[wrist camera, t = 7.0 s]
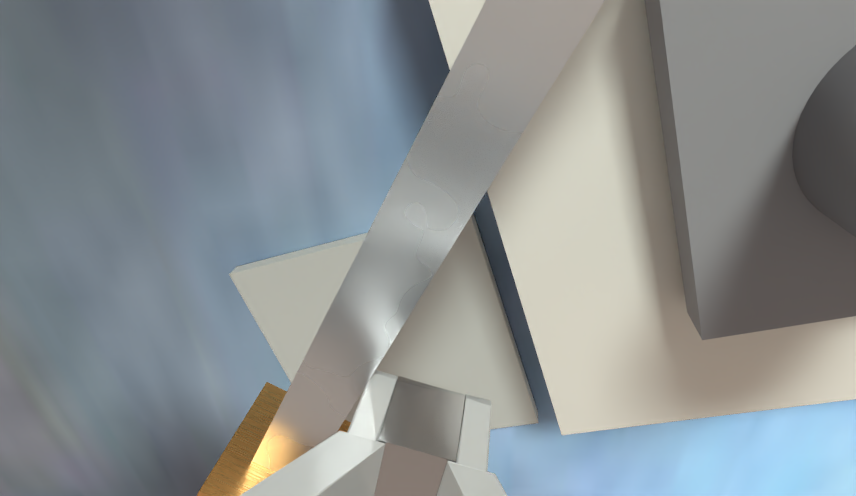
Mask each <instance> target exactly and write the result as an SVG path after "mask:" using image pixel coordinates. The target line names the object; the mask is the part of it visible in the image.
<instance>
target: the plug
mask: <svg viewBox="0 0 856 496" xmlns="http://www.w3.org/2000/svg"><path fill="white" fill-rule="evenodd" d="M644 1H645V8H646V16H647V23H648V30H649V38H650V45H651V52H652V60H653V67H654V74H655V82H656V89H657V96H658V104H659V111H660V118H661V125H662V133H663V140H664V147H665V155H666V162H667V169H668V177H669V184H670V191H671V199H672V206H673V213H674V221H675V228H676V235H677V242H678V250H679V257H680V264H681V272H682V279H683V286H684V294H685V301H686V308H687V313H688V315H689V317H690V319H691V320H692V322H693V324H694V326H695V328H696V330H697V331H698V333H699V335H700V337H701V339H702V340H707V339H714V338H720V337H726V336H733V335H739V334H745V333H752V332H758V331H764V330H771V329H777V328H783V327H790V326H796V325H802V324H809V323H815V322H821V321H828V320H834V319H840V318H846V317H853V316H856V0H644Z"/></svg>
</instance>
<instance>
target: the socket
mask: <svg viewBox="0 0 856 496" xmlns="http://www.w3.org/2000/svg"><path fill="white" fill-rule="evenodd" d="M485 1H486V0H429V3H430V7H431V10H432V13H433V16H434V20H435V23H436V26H437V29H438V33H439V36H440V39H441V42H442V46H443V49H444V52H445V55H446V59H447V62H448V65H449V68H450V70H451V68H452V66H453V64H454V62H455V60H456V58H457V56H458V54H459V52H460V50H461V48H462V46H463V44H464V42H465V40H466V38H467V36H468V34H469V32H470V31H471V29H472V27H473V25H474V23H475V21H476V19H477V17H478V15H479V13H480V11H481V9H482V7H483V5H484V3H485ZM487 192H488V196H489V199H490V202H491V206H492V209H493V212H494V215H495V219H496V222H497V225H498V228H499V232H500V235H501V238H502V241H503V245H504V248H505V251H506V254H507V258H508V261H509V264H510V268H511V271H512V274H513V277H514V281H515V284H516V287H517V290H518V294H519V297H520V300H521V303H522V307H523V310H524V313H525V316H526V320H527V323H528V326H529V330H530V333H531V336H532V339H533V343H534V346H535V349H536V352H537V356H538V359H539V362H540V365H541V369H542V372H543V375H544V378H545V382H546V385H547V388H548V391H549V395H550V398H551V401H552V405H553V408H554V411H555V414H556V418H557V421H558V424H559V427H560V431H561V434H562V435H568V434H576V433H584V432H592V431H600V430H608V429H616V428H625V427H633V426H641V425H649V424H657V423H665V422H673V421H682V420H690V419H698V418H706V417H714V416H722V415H730V414H738V413H747V412H755V411H763V410H771V409H779V408H787V407H795V406H804V405H812V404H820V403H828V402H836V401H844V400H852V399H856V316H853V317H846V318H840V319H834V320H828V321H821V322H815V323H809V324H802V325H796V326H790V327H783V328H777V329H771V330H764V331H758V332H752V333H745V334H739V335H733V336H726V337H720V338H714V339H707V340H702V339H701V337H700V335H699V333H698V331H697V330H696V328H695V326H694V324H693V322H692V320H691V319H690V317H689V315H688V313H687V308H686V301H685V294H684V286H683V279H682V272H681V264H680V257H679V250H678V242H677V235H676V228H675V221H674V213H673V206H672V199H671V191H670V184H669V177H668V169H667V162H666V155H665V147H664V140H663V133H662V125H661V118H660V111H659V104H658V96H657V89H656V82H655V74H654V67H653V60H652V52H651V45H650V38H649V30H648V23H647V16H646V8H645V1H644V0H605V1H604V3H603V4H602V6H601V7H600V9H599V11H598V12H597V14H596V15H595V17H594V19H593V20H592V22H591V24H590V25H589V27H588V28H587V30H586V32H585V33H584V35H583V36H582V38H581V40H580V41H579V43H578V44H577V46H576V48H575V49H574V51H573V53H572V54H571V56H570V57H569V59H568V61H567V62H566V64H565V65H564V67H563V69H562V70H561V72H560V73H559V75H558V77H557V78H556V80H555V82H554V83H553V85H552V86H551V88H550V90H549V91H548V93H547V94H546V96H545V98H544V99H543V101H542V102H541V104H540V106H539V107H538V109H537V111H536V112H535V114H534V115H533V117H532V119H531V120H530V122H529V123H528V125H527V127H526V128H525V130H524V132H523V133H522V135H521V136H520V138H519V140H518V141H517V143H516V144H515V146H514V148H513V149H512V151H511V152H510V154H509V156H508V157H507V159H506V161H505V162H504V164H503V165H502V167H501V169H500V170H499V172H498V173H497V175H496V177H495V178H494V180H493V181H492V183H491V185H490V186H489V188H488V190H487Z"/></svg>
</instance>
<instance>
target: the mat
mask: <svg viewBox="0 0 856 496" xmlns="http://www.w3.org/2000/svg"><path fill="white" fill-rule="evenodd" d="M366 235H367V233H364V234H360V235H356V236H353V237H349V238H345V239H341V240H337V241H333V242H330V243H326V244H322V245H318V246H314V247H310V248H307V249H303V250H299V251H295V252H291V253H287V254H284V255H280V256H276V257H272V258H268V259H264V260H261V261H257V262H253V263H249V264H245V265H241V266H237V267H236V268H235V269H234V270H233V271H232V272H231V273H230V274H229V275H230V277H231V278H232V280H233V282H234V284H235V285H236V287H237V289H238V291H239V292H240V294H241V296H242V298H243V299H244V301H245V303H246V305H247V306H248V308H249V310H250V312H251V313H252V315H253V317H254V319H255V320H256V322H257V324H258V326H259V327H260V329H261V331H262V333H263V334H264V336H265V338H266V340H267V341H268V343H269V345H270V347H271V348H272V350H273V352H274V354H275V355H276V357H277V359H278V361H279V362H280V364H281V366H282V368H283V369H284V371H285V373H286V375H287V376H288V378H289V380H290V382H291V383H292V381H293V379H294V377H295V375H296V373H297V371H298V369H299V367H300V365H301V363H302V361H303V359H304V357H305V355H306V353H307V352H308V350H309V348H310V346H311V344H312V342H313V340H314V338H315V336H316V334H317V332H318V330H319V328H320V326H321V324H322V322H323V320H324V318H325V316H326V314H327V312H328V310H329V308H330V306H331V304H332V302H333V300H334V298H335V296H336V294H337V292H338V290H339V288H340V287H341V285H342V283H343V281H344V279H345V277H346V275H347V273H348V271H349V269H350V267H351V265H352V263H353V261H354V259H355V257H356V255H357V253H358V251H359V249H360V247H361V245H362V243H363V241H364V239H365V237H366ZM376 370H379V371H382V372H385V373H389V374H392V375H395V376H398V377H399V376H401V377H404V378H408V379H411V380H415V381H418V382H421V383H425V384H428V385H431V386H435V387H439V388H443V389H447V390H451V391H454V392H458V393H462V394H464V395H466V394H467V395H471V396H475V397H479V398H482V399H486V400H490V401H491V404H492V411H491V425H490V429H497V428H504V427H512V426H519V425H527V424H535V423H538V411H537V408H536V405H535V402H534V399H533V396H532V393H531V390H530V386H529V383H528V380H527V377H526V374H525V371H524V368H523V365H522V362H521V359H520V356H519V353H518V349H517V346H516V343H515V340H514V337H513V334H512V331H511V328H510V325H509V322H508V319H507V316H506V313H505V309H504V306H503V303H502V300H501V297H500V294H499V291H498V288H497V285H496V282H495V279H494V276H493V273H492V269H491V266H490V263H489V260H488V257H487V254H486V251H485V248H484V245H483V242H482V239H481V236H480V232H479V229H478V226H477V223H476V220H475V217H474V214H472V215H471V217H470V219H469V220H468V222H467V223H466V225H465V227H464V228H463V230H462V231H461V233H460V235H459V236H458V238H457V239H456V241H455V243H454V244H453V246H452V248H451V249H450V251H449V252H448V254H447V256H446V257H445V259H444V260H443V262H442V264H441V265H440V267H439V268H438V270H437V272H436V273H435V275H434V277H433V278H432V280H431V281H430V283H429V285H428V286H427V288H426V289H425V291H424V293H423V294H422V296H421V297H420V299H419V301H418V302H417V304H416V306H415V307H414V309H413V310H412V312H411V314H410V315H409V317H408V318H407V320H406V322H405V323H404V325H403V326H402V328H401V330H400V331H399V333H398V335H397V336H396V338H395V339H394V341H393V343H392V344H391V346H390V347H389V349H388V351H387V352H386V354H385V355H384V357H383V359H382V360H381V362H380V364H379V365H378V367H377V368H376ZM364 389H365V388H364ZM364 389H363V391H364ZM363 391H362V393H361V394H360V396H359V397H358V399H357V401H356V402H355V404H354V405H353V407H352V409H351V410H350V412H349V413H348V415H347V417H346V418H345V420H347V421H349V422H351V421H352V419H353V416H354V414H355V411H356V409H357V406H358V404H359V401H360V399H361V396H362V394H363Z"/></svg>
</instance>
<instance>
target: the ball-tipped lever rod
mask: <svg viewBox="0 0 856 496" xmlns="http://www.w3.org/2000/svg"><path fill="white" fill-rule="evenodd" d="M604 1H605V0H486V1H485V3H484V5H483V7H482V9H481V11H480V13H479V15H478V17H477V19H476V21H475V23H474V25H473V27H472V29H471V31H470V32H469V34H468V36H467V38H466V40H465V42H464V44H463V46H462V48H461V50H460V52H459V54H458V56H457V58H456V60H455V62H454V64H453V66H452V68H451V70H450V72H449V74H448V76H447V78H446V80H445V82H444V84H443V86H442V88H441V90H440V92H439V94H438V95H437V97H436V99H435V101H434V103H433V105H432V107H431V109H430V111H429V113H428V115H427V117H426V119H425V121H424V123H423V125H422V127H421V129H420V131H419V133H418V135H417V137H416V139H415V141H414V143H413V145H412V147H411V149H410V151H409V153H408V155H407V157H406V159H405V160H404V162H403V164H402V166H401V168H400V170H399V172H398V174H397V176H396V178H395V180H394V182H393V184H392V186H391V188H390V190H389V192H388V194H387V196H386V198H385V200H384V202H383V204H382V206H381V208H380V210H379V212H378V214H377V216H376V218H375V220H374V222H373V224H372V225H371V227H370V229H369V231H368V233H367V235H366V237H365V239H364V241H363V243H362V245H361V247H360V249H359V251H358V253H357V255H356V257H355V259H354V261H353V263H352V265H351V267H350V269H349V271H348V273H347V275H346V277H345V279H344V281H343V283H342V285H341V287H340V288H339V290H338V292H337V294H336V296H335V298H334V300H333V302H332V304H331V306H330V308H329V310H328V312H327V314H326V316H325V318H324V320H323V322H322V324H321V326H320V328H319V330H318V332H317V334H316V336H315V338H314V340H313V342H312V344H311V346H310V348H309V350H308V352H307V353H306V355H305V357H304V359H303V361H302V363H301V365H300V367H299V369H298V371H297V373H296V375H295V377H294V379H293V381H292V383H291V385H290V387H289V389H288V391H285V390H282V389H280V388H278V387H276V386H274V385H272V384H270V383H268V382H267V383H266V384H265V386H264V387H263V389H262V391H261V392H260V394H259V395H258V397H257V399H256V400H255V402H254V403H253V405H252V407H251V408H250V410H249V412H248V413H247V415H246V416H245V418H244V420H243V421H242V423H241V424H240V426H239V428H238V429H237V431H236V432H235V434H234V436H233V437H232V439H231V441H230V442H229V444H228V445H227V447H226V449H225V450H224V452H223V453H222V455H221V457H220V458H219V460H218V462H217V463H216V465H215V466H214V468H213V470H212V471H211V473H210V474H209V476H208V478H207V479H206V481H205V482H204V484H203V486H202V487H201V489H200V491H199V492H198V495H197V496H240V495H241V494H243V493H244V492H246V491H247V490H249V489H250V488H252V487H253V486H255V485H257V484H258V483H260V482H261V481H263V480H264V479H266V478H267V477H269V476H270V475H272V474H273V473H275V472H277V471H278V470H280V469H281V468H283V467H284V466H286V465H287V464H289V463H290V462H292V461H293V460H295V459H297V458H298V457H300V456H301V455H303V454H304V453H306V452H307V451H309V450H310V449H312V448H314V447H315V446H317V445H318V444H320V443H321V442H323V441H324V440H326V439H327V438H329V437H330V436H332V435H334V434H335V433H337V432H338V431H343V432H347V431H348V429H349V426H350V424H351V422H349V421H347V420H345V418H346V417H347V415H348V413H349V412H350V410H351V409H352V407H353V405H354V404H355V402H356V401H357V399H358V397H359V396H360V394H361V393H362V391H363V389H364V388H365V386H366V384H367V383H368V381H369V380H370V378H371V376H372V375H373V373H374V372H375V370H376V368H377V367H378V365H379V364H380V362H381V360H382V359H383V357H384V355H385V354H386V352H387V351H388V349H389V347H390V346H391V344H392V343H393V341H394V339H395V338H396V336H397V335H398V333H399V331H400V330H401V328H402V326H403V325H404V323H405V322H406V320H407V318H408V317H409V315H410V314H411V312H412V310H413V309H414V307H415V306H416V304H417V302H418V301H419V299H420V297H421V296H422V294H423V293H424V291H425V289H426V288H427V286H428V285H429V283H430V281H431V280H432V278H433V277H434V275H435V273H436V272H437V270H438V268H439V267H440V265H441V264H442V262H443V260H444V259H445V257H446V256H447V254H448V252H449V251H450V249H451V248H452V246H453V244H454V243H455V241H456V239H457V238H458V236H459V235H460V233H461V231H462V230H463V228H464V227H465V225H466V223H467V222H468V220H469V219H470V217H471V215H472V214H473V212H474V210H475V209H476V207H477V206H478V204H479V202H480V201H481V199H482V198H483V196H484V194H485V193H486V191H487V190H488V188H489V186H490V185H491V183H492V181H493V180H494V178H495V177H496V175H497V173H498V172H499V170H500V169H501V167H502V165H503V164H504V162H505V161H506V159H507V157H508V156H509V154H510V152H511V151H512V149H513V148H514V146H515V144H516V143H517V141H518V140H519V138H520V136H521V135H522V133H523V132H524V130H525V128H526V127H527V125H528V123H529V122H530V120H531V119H532V117H533V115H534V114H535V112H536V111H537V109H538V107H539V106H540V104H541V102H542V101H543V99H544V98H545V96H546V94H547V93H548V91H549V90H550V88H551V86H552V85H553V83H554V82H555V80H556V78H557V77H558V75H559V73H560V72H561V70H562V69H563V67H564V65H565V64H566V62H567V61H568V59H569V57H570V56H571V54H572V53H573V51H574V49H575V48H576V46H577V44H578V43H579V41H580V40H581V38H582V36H583V35H584V33H585V32H586V30H587V28H588V27H589V25H590V24H591V22H592V20H593V19H594V17H595V15H596V14H597V12H598V11H599V9H600V7H601V6H602V4H603V3H604Z"/></svg>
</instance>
